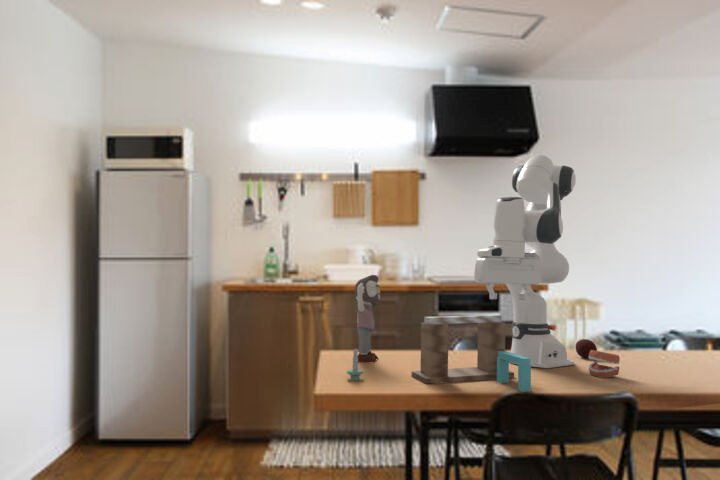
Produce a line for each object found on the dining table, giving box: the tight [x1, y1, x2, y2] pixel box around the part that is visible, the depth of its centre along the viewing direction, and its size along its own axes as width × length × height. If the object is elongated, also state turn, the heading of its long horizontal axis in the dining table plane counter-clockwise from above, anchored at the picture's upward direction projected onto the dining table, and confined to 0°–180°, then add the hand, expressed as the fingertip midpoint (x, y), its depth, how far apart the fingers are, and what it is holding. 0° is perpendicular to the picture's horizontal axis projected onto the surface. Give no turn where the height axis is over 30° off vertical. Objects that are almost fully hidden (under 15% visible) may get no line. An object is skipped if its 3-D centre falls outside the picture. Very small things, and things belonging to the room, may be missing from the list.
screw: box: [346, 348, 365, 381], centre depth 152 cm, size 9×5×5 cm
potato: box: [574, 338, 598, 359], centre depth 192 cm, size 7×8×7 cm
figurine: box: [354, 274, 381, 363], centre depth 179 cm, size 18×9×30 cm, turn 168°
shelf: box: [411, 314, 515, 385], centre depth 158 cm, size 30×10×18 cm, turn 110°
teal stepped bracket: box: [496, 350, 532, 393], centre depth 147 cm, size 3×12×9 cm, turn 20°
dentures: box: [587, 350, 621, 378], centre depth 163 cm, size 9×7×8 cm
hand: (507, 299), depth 149 cm, fingers open, 8 cm apart
